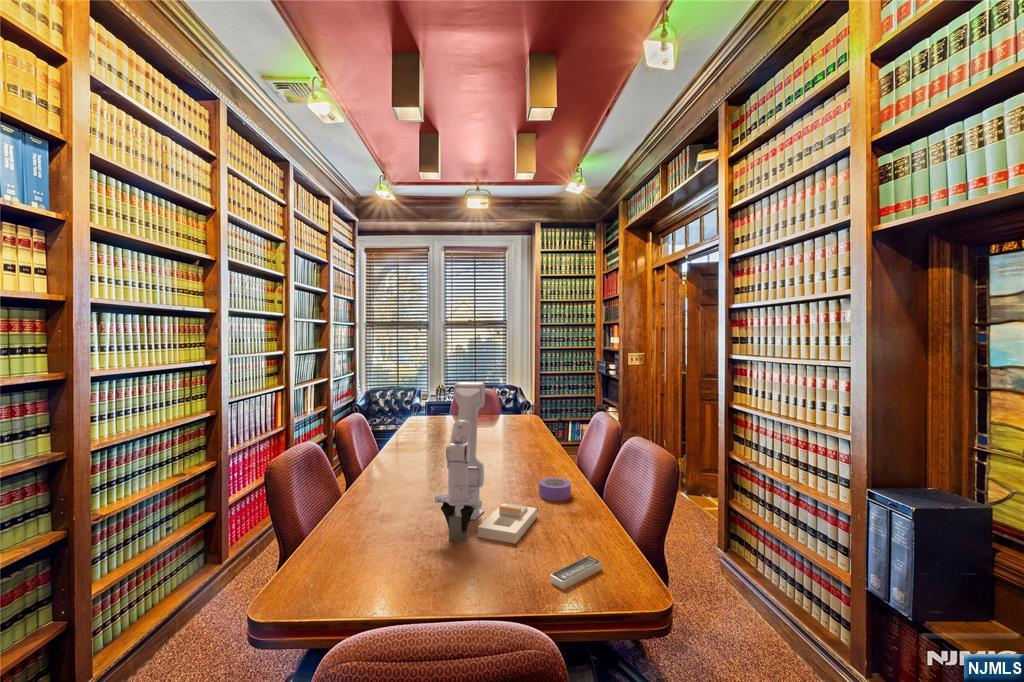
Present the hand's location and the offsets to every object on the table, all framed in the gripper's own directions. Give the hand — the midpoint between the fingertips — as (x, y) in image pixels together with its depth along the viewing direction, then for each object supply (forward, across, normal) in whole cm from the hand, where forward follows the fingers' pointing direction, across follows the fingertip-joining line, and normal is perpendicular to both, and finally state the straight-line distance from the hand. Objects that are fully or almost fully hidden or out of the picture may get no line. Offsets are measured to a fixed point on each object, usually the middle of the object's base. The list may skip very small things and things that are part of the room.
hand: (458, 529), depth 132 cm
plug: (+3, 0, 0) cm, 3 cm away
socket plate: (+3, +11, +13) cm, 17 cm away
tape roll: (+3, +17, +45) cm, 48 cm away
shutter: (-1, +11, +17) cm, 20 cm away
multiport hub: (+3, +37, -7) cm, 38 cm away
